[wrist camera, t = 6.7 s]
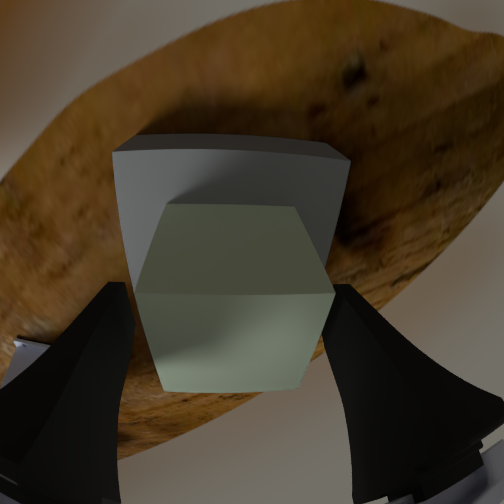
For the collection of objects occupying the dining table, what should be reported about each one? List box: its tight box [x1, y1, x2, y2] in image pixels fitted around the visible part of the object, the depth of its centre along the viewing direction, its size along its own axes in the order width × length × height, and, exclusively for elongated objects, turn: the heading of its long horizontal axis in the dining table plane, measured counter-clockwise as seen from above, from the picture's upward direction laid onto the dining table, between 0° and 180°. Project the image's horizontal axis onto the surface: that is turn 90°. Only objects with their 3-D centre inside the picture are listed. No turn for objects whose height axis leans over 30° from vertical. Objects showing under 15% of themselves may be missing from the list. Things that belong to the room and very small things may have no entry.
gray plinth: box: [112, 134, 351, 322], centre depth 13 cm, size 9×9×3 cm
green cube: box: [134, 204, 336, 393], centre depth 10 cm, size 5×5×5 cm
